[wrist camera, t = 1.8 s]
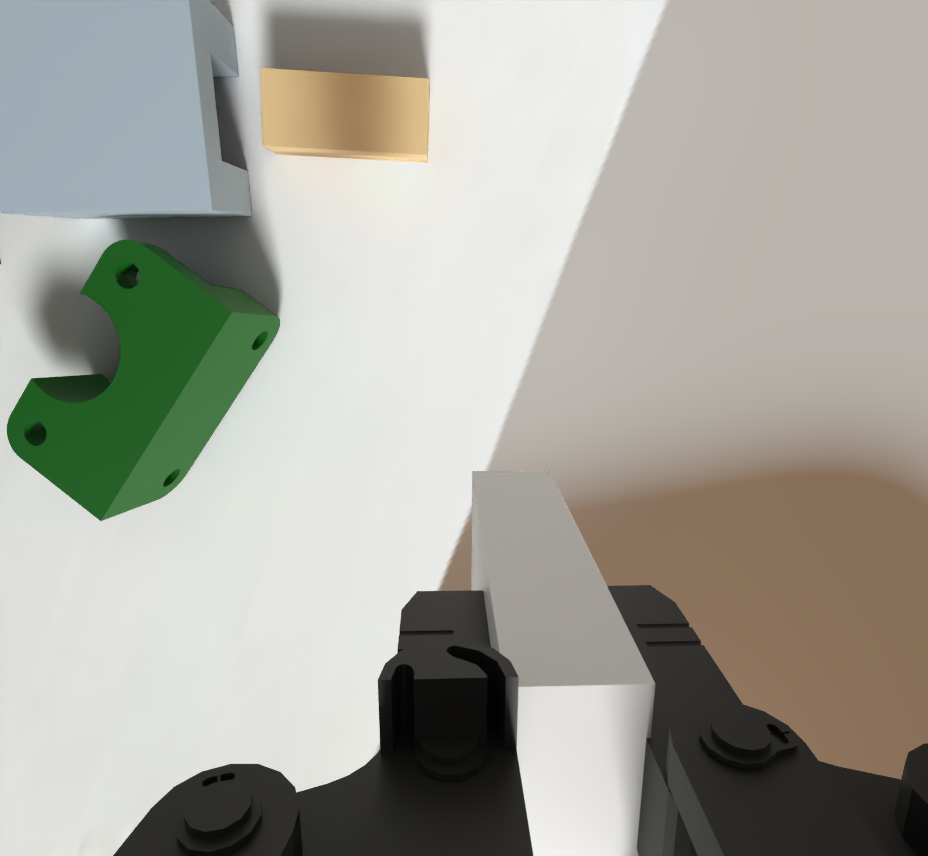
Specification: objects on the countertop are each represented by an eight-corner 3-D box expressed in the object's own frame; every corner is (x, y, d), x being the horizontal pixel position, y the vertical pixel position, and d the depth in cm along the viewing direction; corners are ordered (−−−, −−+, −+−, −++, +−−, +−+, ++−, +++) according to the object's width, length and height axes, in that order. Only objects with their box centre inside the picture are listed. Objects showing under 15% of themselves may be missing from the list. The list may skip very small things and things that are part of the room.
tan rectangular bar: (278, 154, 31) (262, 145, 28) (276, 84, 31) (259, 67, 28) (427, 163, 32) (427, 154, 29) (429, 93, 31) (429, 78, 28)
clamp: (209, 285, 37) (148, 196, 28) (294, 349, 37) (260, 280, 28) (50, 455, 34) (-72, 417, 25) (141, 526, 34) (49, 513, 25)
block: (79, 218, 31) (0, 213, 26) (48, 27, 29) (-45, -26, 24) (251, 216, 32) (212, 209, 26) (233, 26, 30) (185, -26, 24)
